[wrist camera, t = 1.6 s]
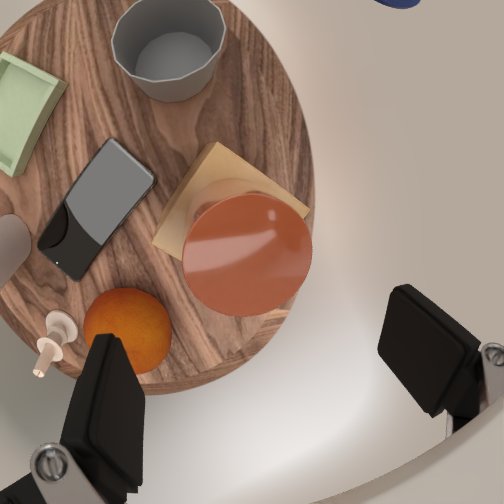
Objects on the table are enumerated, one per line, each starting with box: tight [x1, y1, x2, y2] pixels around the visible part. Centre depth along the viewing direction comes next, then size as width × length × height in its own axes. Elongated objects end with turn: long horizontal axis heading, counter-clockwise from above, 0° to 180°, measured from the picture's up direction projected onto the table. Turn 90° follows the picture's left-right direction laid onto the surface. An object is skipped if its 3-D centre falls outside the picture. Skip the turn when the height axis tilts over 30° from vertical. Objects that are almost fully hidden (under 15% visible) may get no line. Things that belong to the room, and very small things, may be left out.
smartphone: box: [37, 138, 157, 282], centre depth 27 cm, size 7×1×16 cm
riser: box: [151, 142, 310, 262], centre depth 24 cm, size 8×8×12 cm
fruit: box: [83, 288, 172, 374], centre depth 29 cm, size 11×10×8 cm
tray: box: [0, 51, 68, 177], centre depth 19 cm, size 12×12×3 cm
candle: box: [33, 310, 78, 377], centre depth 27 cm, size 5×5×10 cm
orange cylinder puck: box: [182, 178, 312, 317], centre depth 16 cm, size 6×6×6 cm
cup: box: [111, 0, 226, 103], centre depth 19 cm, size 8×8×10 cm
